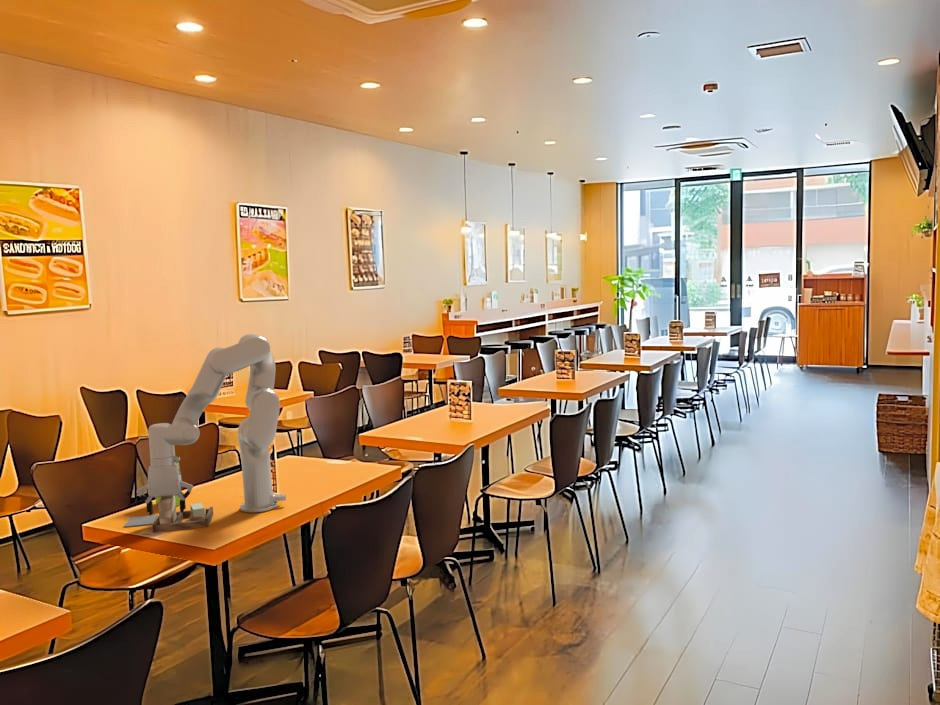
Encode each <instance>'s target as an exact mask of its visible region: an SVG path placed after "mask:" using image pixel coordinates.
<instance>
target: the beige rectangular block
mask: <svg viewBox="0 0 940 705" xmlns="http://www.w3.org/2000/svg"><path fill="white" fill-rule="evenodd" d="M157 506H158V516H159V519H160V524H169V523H174V522H175V520H176V518H177V515H176V512H177V506H176V504H175V496H166V497H161V499H160V500H159V502H158V504H157Z"/></svg>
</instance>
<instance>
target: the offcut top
mask: <svg viewBox="0 0 940 705" xmlns="http://www.w3.org/2000/svg"><path fill="white" fill-rule="evenodd" d="M189 506H190V510H191V513H192V515H193V517H199V516H205V509H206V508H205V507H204V505H203V503H202V502H198V503H191V504H190V505H189Z"/></svg>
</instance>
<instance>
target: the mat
mask: <svg viewBox="0 0 940 705" xmlns="http://www.w3.org/2000/svg"><path fill="white" fill-rule="evenodd" d="M158 516H159V514H152V515H150V516H149V515H141V516H131V517H129V518H128V520H127V521H126V523H125V524H124V525H123V528H132V527H143V526H150V525H151V526H153V524H154V523H155V521H156V519H157V518H158Z"/></svg>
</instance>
